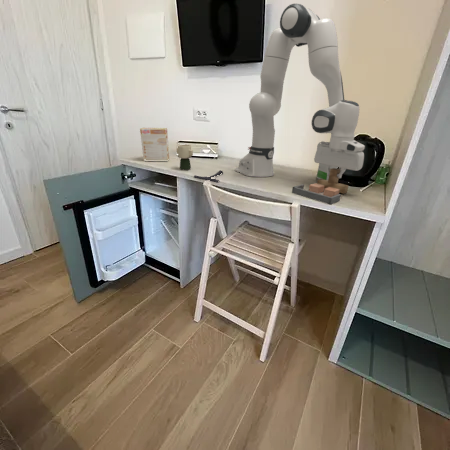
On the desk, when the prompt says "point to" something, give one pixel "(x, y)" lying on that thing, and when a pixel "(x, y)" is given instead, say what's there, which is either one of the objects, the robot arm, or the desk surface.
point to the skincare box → (323, 172)
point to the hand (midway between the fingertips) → (333, 176)
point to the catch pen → (315, 195)
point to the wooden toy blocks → (333, 181)
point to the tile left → (316, 188)
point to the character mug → (184, 156)
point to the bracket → (209, 177)
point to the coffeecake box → (155, 143)
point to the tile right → (331, 191)
